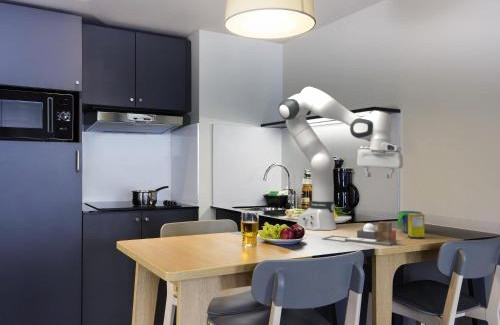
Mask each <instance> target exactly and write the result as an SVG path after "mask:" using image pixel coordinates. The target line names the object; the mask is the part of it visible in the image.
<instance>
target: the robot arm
mask: <svg viewBox="0 0 500 325" xmlns="http://www.w3.org/2000/svg"><path fill="white" fill-rule="evenodd" d="M277 109H278V114H279V116H280V117H281V118H283V119H284V120H285V126H286V127H287V130H288V132H289V134H290V136H291V137H292V138H293V140H294V142H295V143H296V145H297V147H299V149H300V151H301V152H302V153H303V154H304V156H305V157H306V159H307V160H308V161H309V162H310V174H311V175H310V176H311V200H310V201H309V202H308V201H307V205H308V208H306V210H304V211H303V212H301V213H300V214H299V215H298V218H297V222H296V224H298V225H300V226H302V227H303V228H304V230H310V231H330V230H337V225H336V220H335V209H336V208H335V201H334V199H335V198H334V197H335V196H334V194H335V193H334V191H335V188H334V186H335V184H334V169H335V166H336V165H335V164H336V161H335V158H334V157H333V156H332V154H331V153H330V152H329V150H328V149H327V147H326V146H325V145H324V144H323V142H322V141H321V139H320V138H319V137H318V135H317V133H316V132H315V131H314V129H313V128H312V126H311V124H310V123H309V122H308V120H307V116H310V114H311V113H313V114H315V115H317V116H319V117H321V118H325V119H329V120H334V121H338V122H341V123H343V124H346V125H347V126H348V127H349V131H350V134H351V135H352V137H354V138H356V139H359V140H363V141H368V142H370V144H369V146H360V147H358V149H357V159H356V165H357V166H358V167H363V170H364V172H365V174H366V175H365V177H366V178H370V177H371V176H372V173H371V172H369V169H370V167H371V168H384V169H385V168H387V169H389V171H390V172H389V173H387V174H386V178H387V179H392V175H393V173H394V172H395V169H402V168H403V167H404V157H403V156H404V155H403V153H402V147H401V146H399V145H398V144H394V143H391V142H392V139H391V133H392V116H391V114H390V112H388V111H383V110H375V109H374V110H373V111H372V112H370V113H369V114H367V115H365V116H360V115H358V114H356V113H354V112H353V111H351V110H349V109H347V108H346V106H344V105H342V104H341V103H340V102H338V101H337V100H336V99H335V98H334V97H332V96H331V95H329V94H328V93H326V92H324V91H323V90H321V89H319V88H316V87H313V86H307V87H304V88H303V89H302V90H301V92H300V93H295V94H293V95H292V96H290V97H288V98H285V99H283V100H282V101H281V102H280V103H279V105H278V108H277Z"/></svg>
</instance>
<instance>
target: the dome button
mask: <svg viewBox="0 0 500 325" xmlns="http://www.w3.org/2000/svg"><path fill="white" fill-rule="evenodd" d="M362 229H363V231H368V232H375V230H376V228H375V225H374V224H372V223H371V222H369V223H366V224H364V225H363V228H362Z"/></svg>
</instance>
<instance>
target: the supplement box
mask: <svg viewBox="0 0 500 325" xmlns="http://www.w3.org/2000/svg"><path fill="white" fill-rule="evenodd" d="M421 213H422V212H421ZM421 213H408V233H407V237H408V238H409V239H420V240H421V239H423V240H424V239H425V214H424V213H422V214H421Z"/></svg>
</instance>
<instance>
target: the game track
mask: <svg viewBox="0 0 500 325" xmlns="http://www.w3.org/2000/svg"><path fill="white" fill-rule="evenodd" d="M344 241H347V242H350V243H358V244H368V245H375V246H376V245H377V246H383V247H384V246H385V247H391V246H393V245H396V244H397V241H393V242H390V243H382V242H376V240H375V239H366V238H357V236H356V237H355V236H350V238H345V239H344Z"/></svg>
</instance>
